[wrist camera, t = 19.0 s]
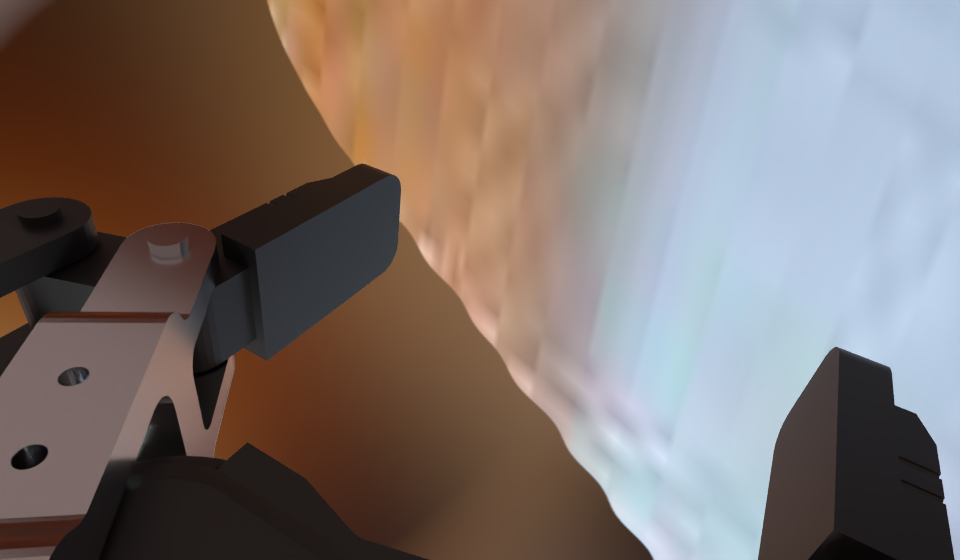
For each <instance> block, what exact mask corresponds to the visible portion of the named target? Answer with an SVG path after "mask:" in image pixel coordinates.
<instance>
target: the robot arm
mask: <svg viewBox="0 0 960 560" xmlns="http://www.w3.org/2000/svg"><path fill="white" fill-rule="evenodd" d="M400 197H401V185H400V181H399V179H398V178H397V177H396V176H395V175H392V174H389V173H387V172H384V171H382V170H379V169H376V168H374V167H371V166H369V165H366V164H359V165H356V166H354V167H352V168H351V169H348V170H347V171H344V172H342V173H340V174H339V175H337V176H335V177H333V178H329V179H324V180H320V181H315V182H310V183H306V184H304V185H302V186H300V187H298V188H296V189H294V190H292V191H290V192H288V193H287V195H286V196H284V195H282V196H280V197H278V198H275V199H274V200H271V201H270V204H267V203H265V204H263V205H261V206H259V207H257V208H255V209H253V210H251V211H249V212H247V213H245V214H243V215H241V216H239V217H237V218H234V219H233V220H230V221H228V222H226V223H224V224H222V225H220V226H218V227H216V228H214V229H212V230H210V231H209V230H208V229H206V228H204V227H202V226H198V225H194V224H189V223H164V224H158V225H154V226H150V227H146V228H144V229H141V230H139V231H137V232H135V233H133V234H131V235H130V236H128V237H122V236H116V235H112V234H107V233H101V232H97V230H96V226H95V223H94V220H93V216H92V212H91V210H90V208H89V207H88V206H87V205H86V204H85V203H83V202H80V201H78V200H74V199H69V198H58V197H51V198H39V199H33V200H28V201H23V202H20V203H16V204H14V205H11V206H8V207H5V208H2V209H0V297H2V296H4V295H7V294H9V293H11V292H13V291H16V294H17V296H18V299H19V301H20V303H21V306H22V308H23V311H24V313H25V315H26V318H27V320H28V323H27V324H25V325H23V326H22V327H20V328H18V329H16V330H14V331H12V332H11V333H9V334H7V335H5V336H3V337H1V338H0V560H428V559H425V558H422V557H418V556H415V555H412V554H409V553H406V552H402V551H399V550H396V549H393V548H390V547H386V546H383V545H380V544H377V543H373V542H370V541H367V540H364V539H362V538H360V537H358V536H357V535H355V534H354V533H353V532H352V531H351V530H350V529H349V528H348V526H347V525H346V524H345V523H344V522H343V521H342V520H341V519H340V517H339V516H338V515H337V514H336V513H335V512H334V510H333V509H332V508H331V507H330V506H329V505H328V504H327V502H326V501H325V500H324V499H323V498H322V497H321V496H320V494H319V493H318V492H317V491H316V490H315V489H314V488H313V486H312V485H311V484H310V483H309V482H308V481H307V480H306V479H305V478H304V477H302V476H301V475H299V474H297V473H295V472H294V471H293V470H291V469H289V468H288V467H286V466H285V465H283V464H281V463H280V462H278V461H276V460H275V459H273V458H272V457H270V456H268V455H267V454H265V453H264V452H262V451H260V450H259V449H257V448H255V447H254V446H252V445H251V444H249V443H246V444H245V445H244V446H243V447H242V448H241V449H239V450H238V451H237V452H236V453H235V454H234V455H232V456H231V457H230V458H229V459H228V460H224V459H218V458H214V449H215V444H216V440H217V436H218V431H219V427H220V423H221V420H222V416H223V412H224V408H225V404H226V400H227V396H228V392H229V388H230V384H231V380H232V376H233V372H234V368H235V362H234V354H235V353H236V352H238V351H239V350H241V349H242V348H245V349H247V350H249V351H251V352H252V353H254V354H256V355H258V356H260V357H261V358H263V359H265V360H268V359H270V358H271V357H272V356H274V355H275V354H276V353H278V352H279V351H280V350H282V349H283V348H284V347H286V346H287V345H288V344H290V343H291V342H292V341H293V340H295V339H296V338H297V337H299V336H300V335H301V334H303V333H304V332H305V331H307V330H308V329H309V328H310V327H312V326H313V325H315V324H316V323H317V322H319V321H320V320H321V319H323V318H324V317H325V316H326V315H328V314H329V313H330V312H332V311H333V310H334V309H336V308H337V307H338V306H340V305H341V304H342V303H344V302H345V301H346V300H348V299H349V298H350V297H351V296H353V295H354V294H355V293H357V292H358V291H359V290H361V289H362V288H363V287H365V286H366V285H367V284H369V283H370V282H371V281H373V280H374V279H375V278H377V277H378V276H379V275H381V274H382V273H383V272H384V271H385V270H386V269H387V268H388V267H389V265H390V264H391V262H392V260H393V258H394V256H395V253H396V250H397V243H398V229H399V213H400ZM940 474H941V472H940V465H939V459H938V453H937V446H936V444H935V442H934V441H933V439H932V438H931V436H930V435H929V433H928V431H927V430H926V428H925V427H924V425H923V424H922V422H921V421H920V419H919V418H918V416H917V414H915V413H913V412H910V411H908V410H905V409H903V408H900V407H898V406H895V405H894V394H893V382H892V372H891V369H890V368H889V367H887V366H885V365H882V364H880V363H877V362H874V361H872V360H869V359H867V358H864V357H862V356H859V355H856V354H854V353H851V352H849V351H846V350H843V349H841V348H838V347H835V348H833V349H832V350H831V351H830V352H829V353H828V354H827V355H826V357H825V358H824V360H823V361H822V363H821V364H820V366H819V368H818V369H817V371H816V372H815V374H814V375H813V377H812V378H811V380H810V381H809V383H808V385H807V386H806V388H805V389H804V391H803V392H802V394H801V395H800V397H799V398H798V400H797V401H796V403H795V405H794V406H793V408H792V409H791V411H790V412H789V414H788V416H787V417H786V419H785V421H784V423H783V425H782V428H781V430H780V432H779V435H778V438H777V441H776V444H775V449H774V454H773V461H772V468H771V475H770V482H769V488H768V495H767V502H766V509H765V516H764V522H763V529H762V536H761V543H760V550H759V556H758V560H954V554H953V547H952V541H951V535H950V528H949V522H948V516H947V509H946V504H943V500H944V499H945V497H944V491H943V484H942V480H941V479H939V476H940Z"/></svg>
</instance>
